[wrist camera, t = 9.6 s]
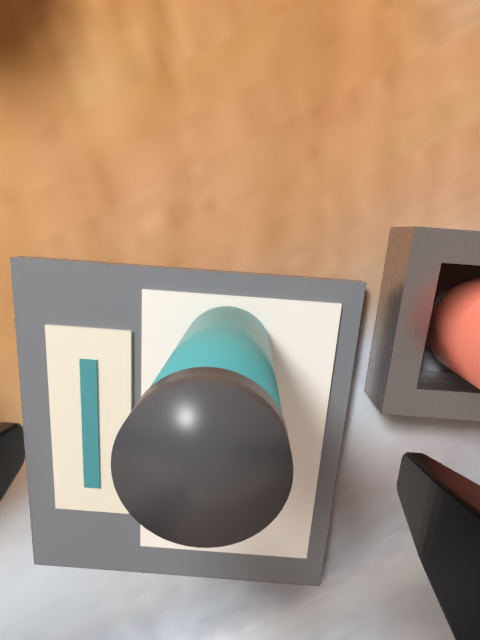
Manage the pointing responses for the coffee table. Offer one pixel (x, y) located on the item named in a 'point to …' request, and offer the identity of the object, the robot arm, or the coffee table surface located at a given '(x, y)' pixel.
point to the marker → (208, 438)
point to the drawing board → (136, 378)
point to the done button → (458, 330)
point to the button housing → (417, 327)
